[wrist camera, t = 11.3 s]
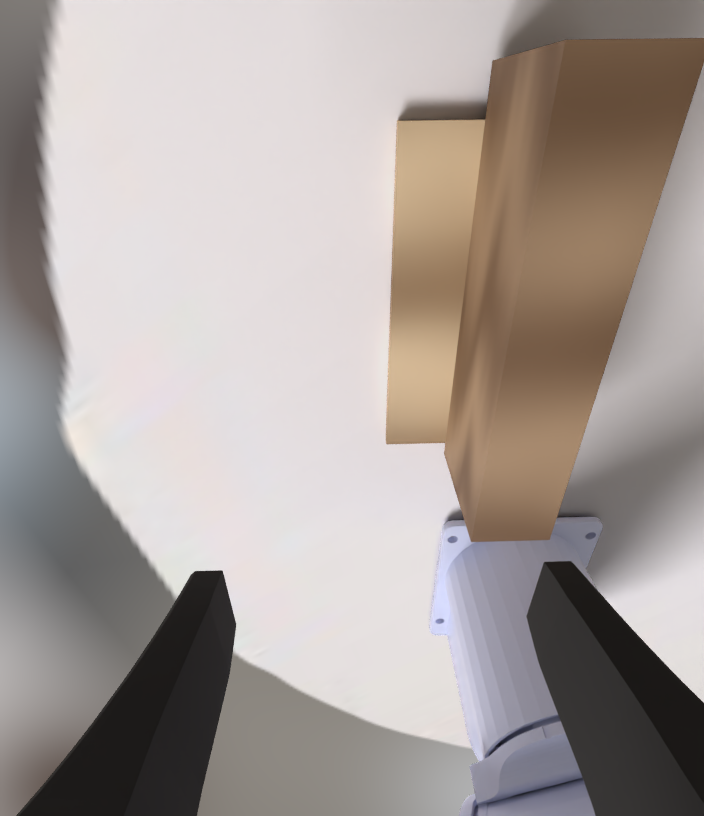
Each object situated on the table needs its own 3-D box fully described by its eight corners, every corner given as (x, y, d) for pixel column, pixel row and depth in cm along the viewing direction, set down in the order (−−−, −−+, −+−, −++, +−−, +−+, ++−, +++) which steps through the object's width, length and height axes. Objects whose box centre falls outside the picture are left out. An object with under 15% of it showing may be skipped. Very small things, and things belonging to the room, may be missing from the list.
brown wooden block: (506, 452, 21) (549, 539, 16) (444, 453, 21) (470, 542, 16) (591, 59, 13) (711, 37, 9) (492, 60, 13) (565, 39, 9)
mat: (565, 434, 21) (568, 439, 20) (385, 438, 21) (386, 443, 20) (659, 116, 14) (666, 117, 14) (397, 120, 14) (398, 120, 14)
